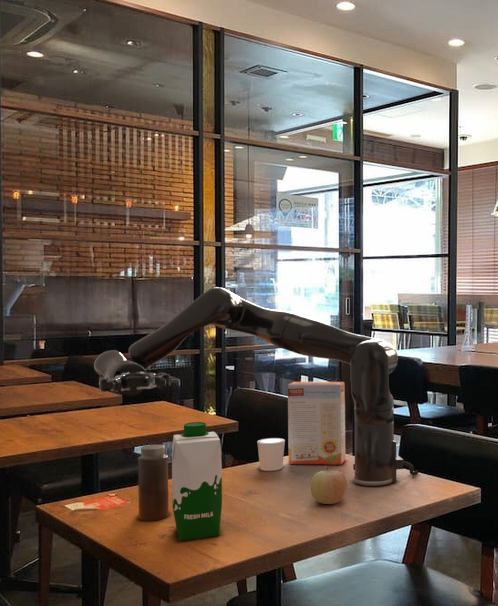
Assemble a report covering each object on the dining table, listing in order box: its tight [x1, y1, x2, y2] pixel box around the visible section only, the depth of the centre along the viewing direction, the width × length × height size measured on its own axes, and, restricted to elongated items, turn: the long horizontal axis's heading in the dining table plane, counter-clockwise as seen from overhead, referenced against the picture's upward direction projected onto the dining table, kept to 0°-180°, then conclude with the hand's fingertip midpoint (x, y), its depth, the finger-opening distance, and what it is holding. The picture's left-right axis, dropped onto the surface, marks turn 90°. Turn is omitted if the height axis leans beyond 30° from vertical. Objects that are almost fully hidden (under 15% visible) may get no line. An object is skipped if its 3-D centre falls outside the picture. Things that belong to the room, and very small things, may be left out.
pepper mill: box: [137, 444, 170, 522], centre depth 141 cm, size 6×6×14 cm
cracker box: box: [287, 381, 346, 466], centre depth 183 cm, size 14×6×21 cm, turn 84°
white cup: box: [256, 437, 286, 472], centre depth 178 cm, size 7×7×7 cm
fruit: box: [310, 465, 348, 505], centre depth 149 cm, size 8×7×8 cm
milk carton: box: [171, 421, 223, 542], centre depth 131 cm, size 9×9×20 cm
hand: (141, 385), depth 149 cm, fingers open, 8 cm apart
